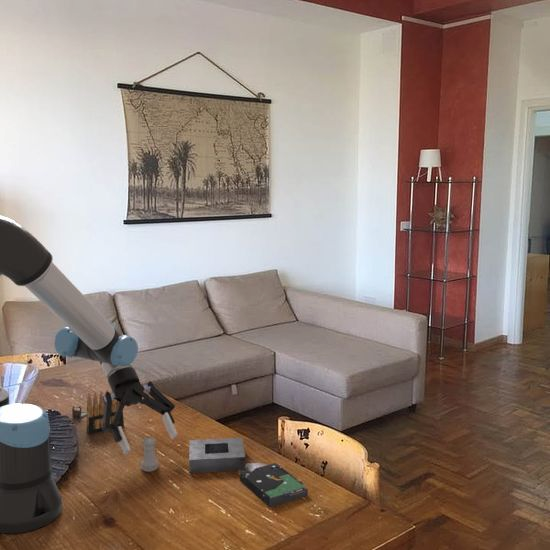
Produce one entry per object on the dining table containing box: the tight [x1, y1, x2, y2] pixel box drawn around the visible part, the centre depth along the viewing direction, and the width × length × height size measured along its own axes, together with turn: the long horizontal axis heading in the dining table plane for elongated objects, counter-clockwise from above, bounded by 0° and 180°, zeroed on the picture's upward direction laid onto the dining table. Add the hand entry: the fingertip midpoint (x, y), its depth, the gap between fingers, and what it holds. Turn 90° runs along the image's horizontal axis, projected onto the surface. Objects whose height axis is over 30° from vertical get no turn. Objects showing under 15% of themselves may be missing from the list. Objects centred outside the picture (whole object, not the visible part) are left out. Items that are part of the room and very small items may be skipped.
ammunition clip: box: [86, 389, 125, 435], centre depth 176 cm, size 11×2×12 cm, turn 125°
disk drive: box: [239, 462, 309, 508], centre depth 142 cm, size 10×3×15 cm
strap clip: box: [70, 405, 87, 424], centre depth 185 cm, size 8×3×4 cm, turn 166°
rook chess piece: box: [140, 436, 159, 473], centre depth 151 cm, size 4×4×8 cm
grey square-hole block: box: [188, 437, 246, 474], centre depth 156 cm, size 12×14×4 cm
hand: (151, 444), depth 152 cm, fingers open, 13 cm apart
